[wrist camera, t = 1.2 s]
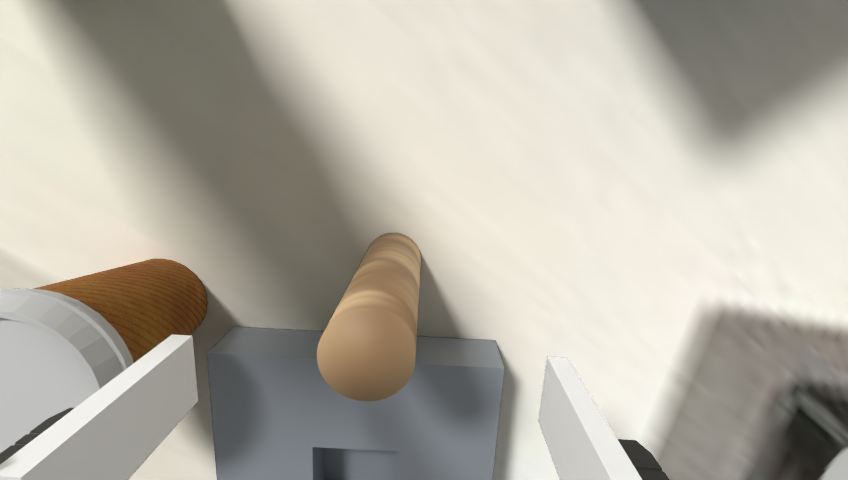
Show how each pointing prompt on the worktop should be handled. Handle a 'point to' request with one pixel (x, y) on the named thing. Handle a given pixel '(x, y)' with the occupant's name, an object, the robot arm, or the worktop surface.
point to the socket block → (351, 412)
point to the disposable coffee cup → (86, 336)
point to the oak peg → (375, 323)
